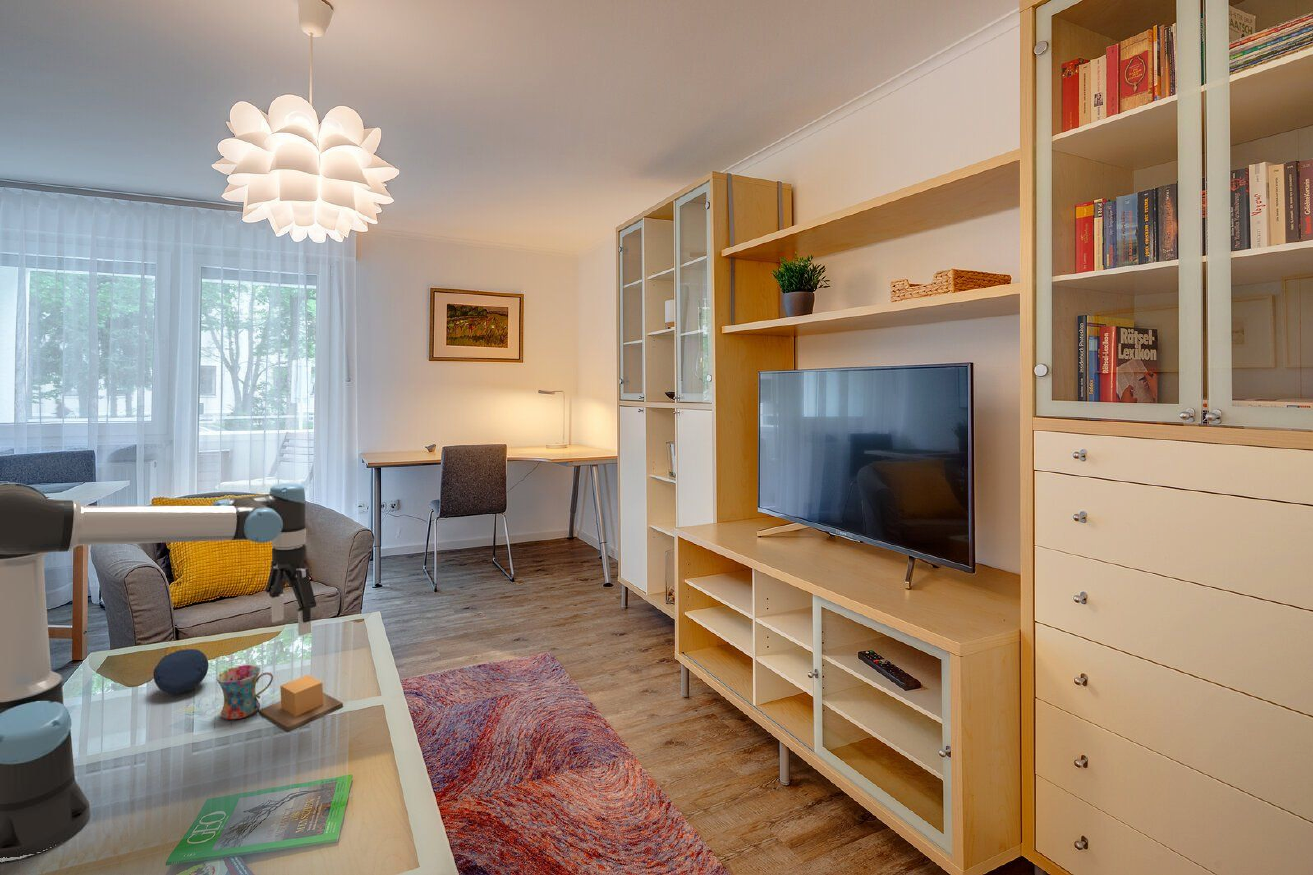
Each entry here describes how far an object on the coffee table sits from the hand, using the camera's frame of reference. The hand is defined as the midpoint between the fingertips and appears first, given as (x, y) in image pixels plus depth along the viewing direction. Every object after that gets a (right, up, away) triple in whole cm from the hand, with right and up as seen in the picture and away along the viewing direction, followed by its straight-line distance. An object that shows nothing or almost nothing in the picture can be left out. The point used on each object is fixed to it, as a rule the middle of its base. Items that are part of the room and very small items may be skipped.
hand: (291, 627), depth 163 cm
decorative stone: (-35, -21, +11) cm, 42 cm away
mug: (-12, -22, +1) cm, 25 cm away
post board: (+2, -22, +2) cm, 22 cm away
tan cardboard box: (+2, -21, +2) cm, 21 cm away
